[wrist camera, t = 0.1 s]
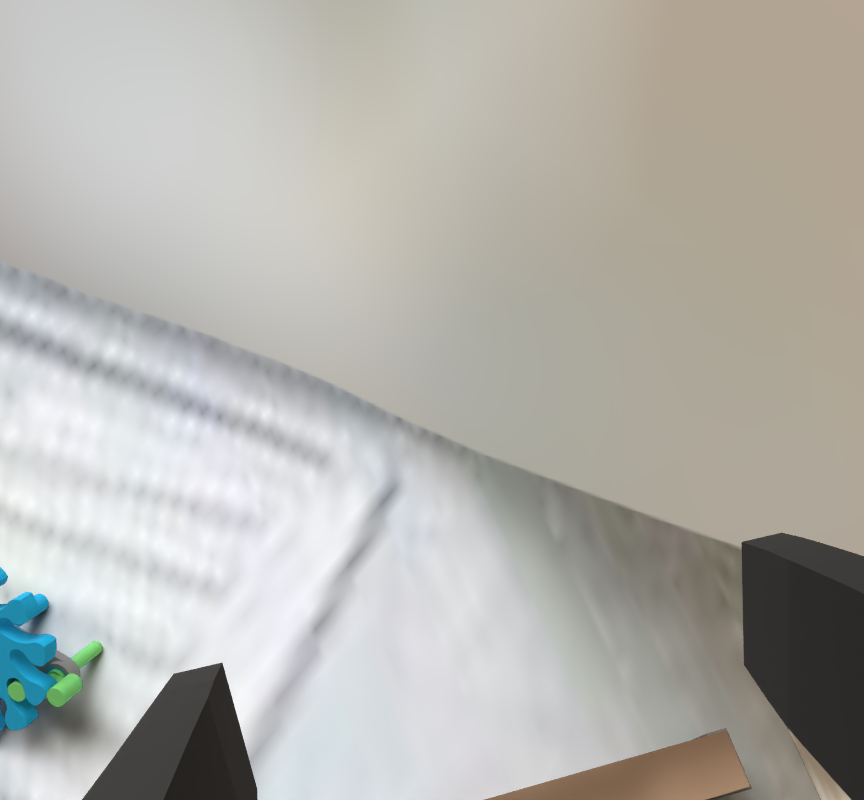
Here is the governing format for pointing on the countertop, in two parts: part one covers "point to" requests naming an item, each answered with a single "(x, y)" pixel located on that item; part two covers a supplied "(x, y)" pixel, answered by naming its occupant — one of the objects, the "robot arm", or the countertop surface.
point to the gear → (34, 663)
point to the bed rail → (653, 775)
